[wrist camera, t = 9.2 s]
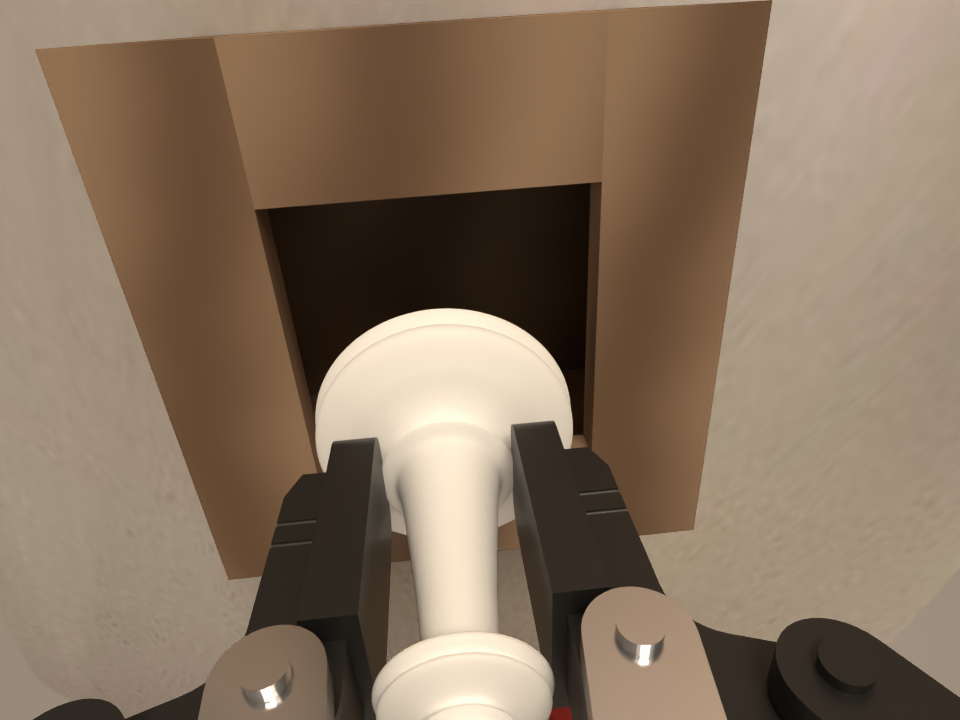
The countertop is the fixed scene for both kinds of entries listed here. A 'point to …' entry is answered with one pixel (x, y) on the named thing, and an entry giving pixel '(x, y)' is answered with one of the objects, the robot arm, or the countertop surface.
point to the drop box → (424, 224)
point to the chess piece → (449, 496)
